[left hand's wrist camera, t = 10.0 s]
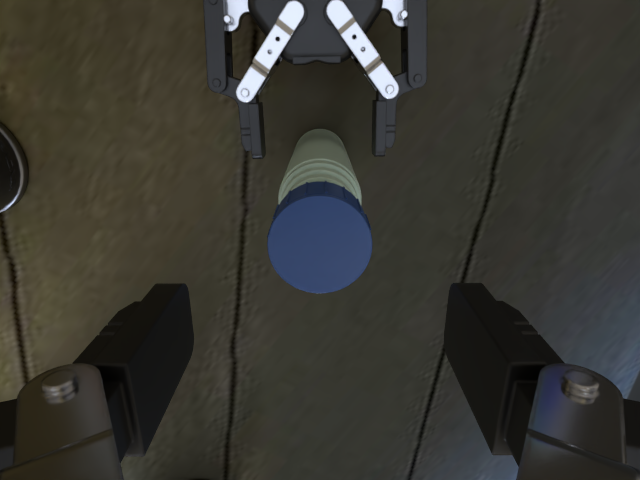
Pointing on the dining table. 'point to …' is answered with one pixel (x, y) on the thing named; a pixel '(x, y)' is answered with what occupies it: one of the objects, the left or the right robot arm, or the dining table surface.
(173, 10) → the dining table surface
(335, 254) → the cap
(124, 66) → the dining table surface
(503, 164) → the dining table surface
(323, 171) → the bottle
